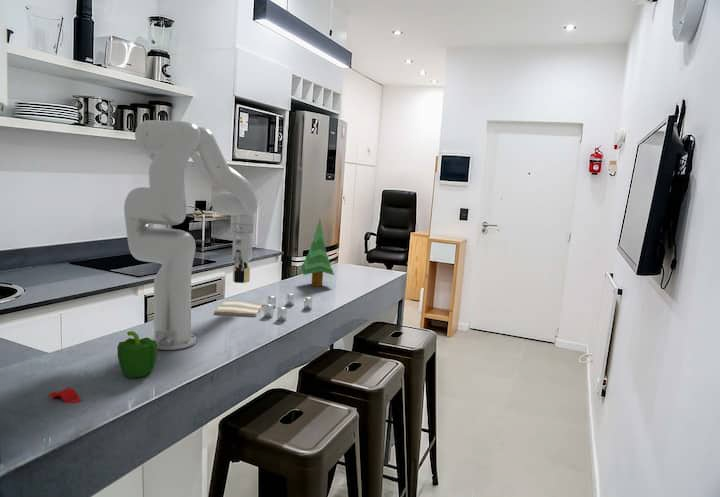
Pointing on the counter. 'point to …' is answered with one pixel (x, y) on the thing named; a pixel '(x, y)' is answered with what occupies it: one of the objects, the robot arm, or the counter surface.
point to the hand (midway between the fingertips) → (241, 279)
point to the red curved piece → (66, 395)
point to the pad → (239, 308)
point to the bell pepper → (137, 355)
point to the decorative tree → (317, 259)
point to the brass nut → (246, 274)
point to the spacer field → (283, 310)
